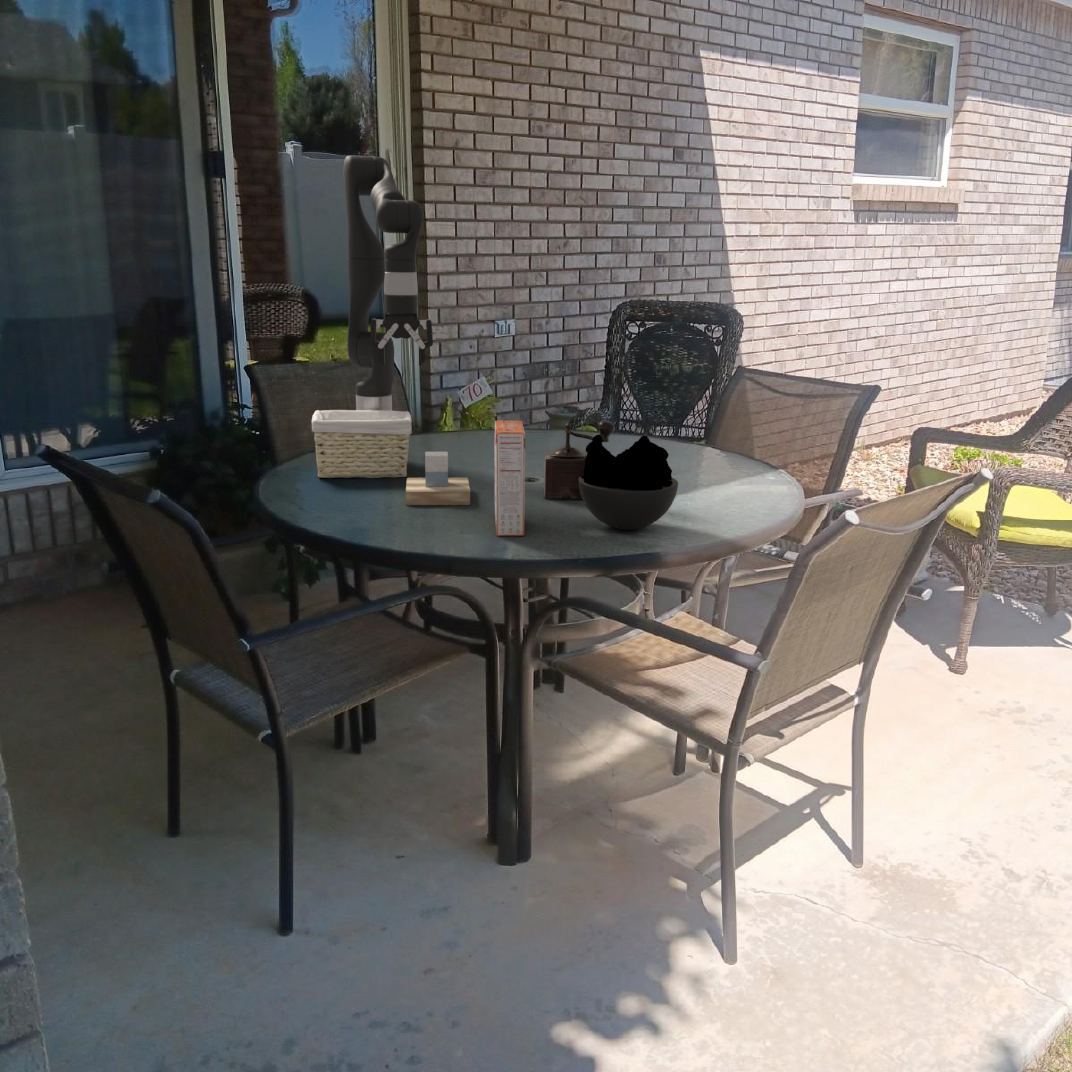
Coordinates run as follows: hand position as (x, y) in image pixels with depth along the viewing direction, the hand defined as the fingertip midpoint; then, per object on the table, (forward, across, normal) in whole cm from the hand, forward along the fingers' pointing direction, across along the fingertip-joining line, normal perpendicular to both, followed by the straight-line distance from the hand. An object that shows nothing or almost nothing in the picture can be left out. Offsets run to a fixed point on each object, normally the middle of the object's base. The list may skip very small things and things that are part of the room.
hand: (402, 365), depth 235 cm
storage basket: (+28, -10, +12) cm, 33 cm away
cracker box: (+28, +22, -40) cm, 54 cm away
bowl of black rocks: (+28, +46, -41) cm, 68 cm away
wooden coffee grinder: (+28, +40, -12) cm, 50 cm away
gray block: (+25, +8, -14) cm, 30 cm away
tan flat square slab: (+28, +8, -14) cm, 32 cm away
